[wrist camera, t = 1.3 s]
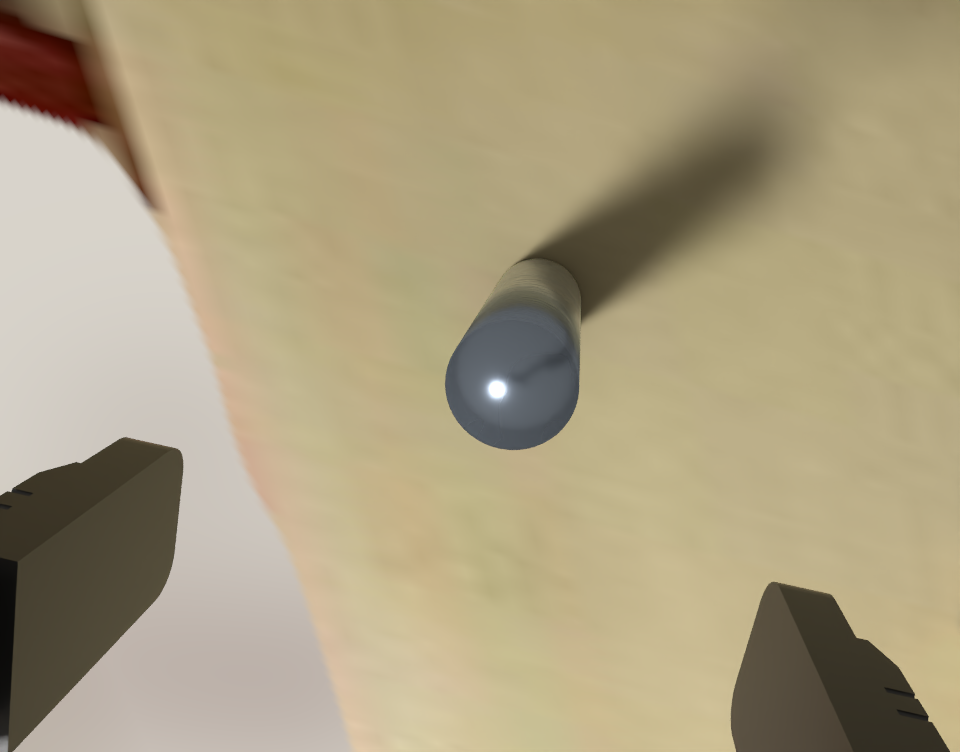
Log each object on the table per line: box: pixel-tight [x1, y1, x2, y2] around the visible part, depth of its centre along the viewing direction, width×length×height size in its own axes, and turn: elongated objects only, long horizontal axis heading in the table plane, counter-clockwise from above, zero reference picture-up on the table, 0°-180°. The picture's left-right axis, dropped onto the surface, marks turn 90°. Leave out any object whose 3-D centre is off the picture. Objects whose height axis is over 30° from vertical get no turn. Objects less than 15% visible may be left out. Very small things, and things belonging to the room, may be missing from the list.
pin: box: [445, 258, 581, 450], centre depth 27 cm, size 3×3×12 cm
